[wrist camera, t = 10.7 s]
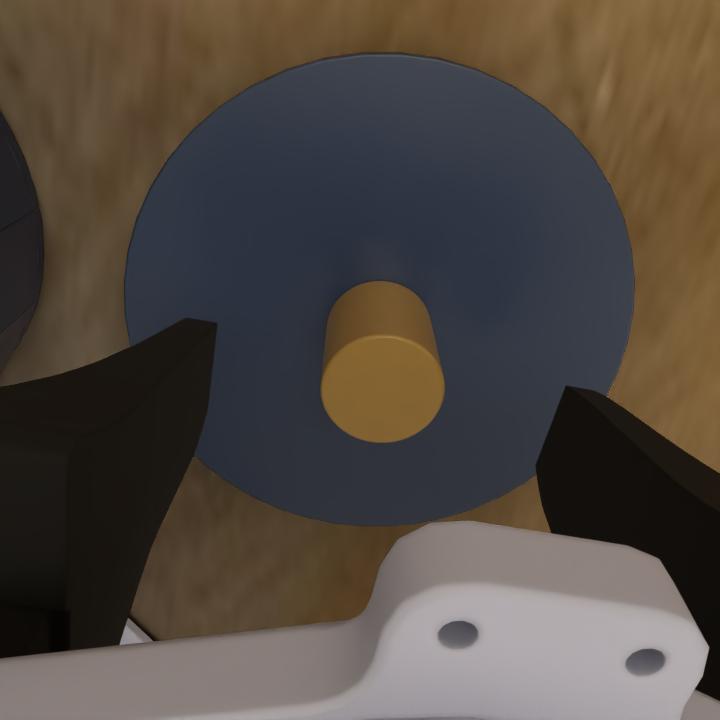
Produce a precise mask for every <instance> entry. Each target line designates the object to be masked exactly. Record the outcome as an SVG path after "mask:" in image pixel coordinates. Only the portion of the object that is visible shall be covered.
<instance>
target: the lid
mask: <svg viewBox="0 0 720 720" xmlns="http://www.w3.org/2000/svg"><path fill="white" fill-rule="evenodd" d="M634 288H635V278H634V267H633V257H632V248H631V244H630V240H629V236H628V232H627V228H626V224H625V220H624V217H623V214H622V212H621V210H620V207H619V205H618V202H617V200H616V197H615V195H614V193H613V190H612V188H611V186H610V184H609V183H608V181H607V179H606V178H605V176H604V174H603V173H602V171H601V169H600V168H599V166H598V164H597V163H596V161H595V159H594V158H593V156H592V155H591V154H590V153H589V152H588V150H587V149H586V148H585V147H584V146H583V144H582V143H581V142H580V141H579V140H578V138H577V137H576V136H575V135H574V134H573V132H572V131H571V130H570V129H569V128H568V127H567V126H565V125H564V124H563V123H562V122H561V121H560V120H559V119H558V118H557V117H555V116H554V115H553V114H552V113H551V112H550V111H549V110H548V109H546V108H545V107H544V106H543V105H541V104H540V103H538V102H537V101H535V100H534V99H532V98H531V97H529V96H528V95H526V94H524V93H523V92H521V91H520V90H518V89H517V88H515V87H514V86H512V85H510V84H508V83H506V82H504V81H501V80H499V79H497V78H495V77H493V76H491V75H488V74H486V73H484V72H482V71H480V70H478V69H475V68H472V67H469V66H465V65H462V64H459V63H455V62H452V61H448V60H445V59H442V58H438V57H431V56H424V55H417V54H410V53H403V52H361V53H354V54H347V55H340V56H333V57H327V58H322V59H319V60H315V61H312V62H309V63H305V64H302V65H298V66H295V67H292V68H288V69H286V70H284V71H282V72H279V73H277V74H275V75H273V76H271V77H268V78H266V79H264V80H262V81H260V82H258V83H255V84H253V85H252V86H250V87H249V88H247V89H246V90H244V91H243V92H241V93H239V94H238V95H236V96H235V97H233V98H232V99H230V100H229V101H227V102H226V103H224V104H222V105H221V106H219V107H218V108H217V109H216V110H215V111H214V112H213V113H211V114H210V115H209V116H208V117H207V118H206V119H205V120H203V121H202V122H201V123H200V124H199V125H198V126H197V127H195V128H194V129H193V130H192V131H191V132H190V133H189V135H188V136H187V137H186V138H185V139H184V140H183V142H182V143H181V144H180V145H179V146H178V147H177V149H176V150H175V151H174V152H173V153H172V154H171V156H170V157H169V158H168V160H167V161H166V163H165V164H164V166H163V168H162V169H161V171H160V172H159V174H158V176H157V177H156V179H155V180H154V182H153V184H152V185H151V187H150V189H149V191H148V193H147V196H146V198H145V200H144V203H143V205H142V207H141V209H140V212H139V214H138V216H137V219H136V222H135V226H134V230H133V233H132V237H131V241H130V244H129V248H128V254H127V262H126V270H125V279H124V299H125V317H126V323H127V329H128V335H129V341H130V345H131V346H134V345H136V344H138V343H139V342H141V341H143V340H145V339H147V338H149V337H151V336H153V335H155V334H157V333H158V332H160V331H162V330H164V329H166V328H167V327H169V326H171V325H173V324H175V323H177V322H178V321H180V320H182V319H185V318H193V319H198V320H204V321H209V322H215V323H218V326H217V334H216V343H215V352H214V361H213V369H212V378H211V387H210V396H209V404H208V412H207V415H206V418H205V422H204V425H203V429H202V432H201V435H200V438H199V442H198V445H197V448H196V451H195V453H194V455H195V456H196V457H197V458H198V459H200V460H201V461H202V462H203V463H204V464H205V465H206V466H207V467H208V468H210V469H211V470H212V471H214V472H215V473H216V474H218V475H219V476H220V477H222V478H223V479H224V480H226V481H227V482H228V483H230V484H232V485H233V486H235V487H237V488H238V489H240V490H242V491H244V492H245V493H247V494H249V495H250V496H252V497H254V498H256V499H258V500H261V501H263V502H265V503H267V504H270V505H272V506H274V507H276V508H279V509H281V510H284V511H288V512H291V513H294V514H297V515H300V516H303V517H306V518H311V519H316V520H320V521H325V522H330V523H335V524H345V525H355V526H398V525H407V524H417V523H423V522H427V521H432V520H437V519H442V518H447V517H450V516H453V515H456V514H459V513H462V512H465V511H468V510H471V509H474V508H477V507H479V506H481V505H483V504H486V503H488V502H490V501H492V500H495V499H497V498H499V497H501V496H503V495H505V494H506V493H508V492H510V491H512V490H513V489H515V488H517V487H518V486H520V485H522V484H524V483H525V482H527V481H528V480H529V479H531V478H532V477H533V476H535V475H536V467H535V465H536V462H537V460H538V457H539V454H540V452H541V449H542V447H543V444H544V441H545V439H546V436H547V433H548V431H549V428H550V426H551V423H552V420H553V418H554V415H555V412H556V410H557V407H558V404H559V402H560V399H561V397H562V394H563V391H564V389H565V386H566V385H567V386H573V387H578V388H584V389H589V390H594V391H597V392H599V393H601V394H602V395H604V396H606V395H607V393H608V391H609V389H610V387H611V385H612V383H613V381H614V379H615V377H616V375H617V373H618V370H619V367H620V364H621V361H622V358H623V355H624V352H625V349H626V346H627V343H628V338H629V333H630V327H631V322H632V317H633V309H634Z"/></svg>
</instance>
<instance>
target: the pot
mask: <svg viewBox="0 0 720 720" xmlns="http://www.w3.org/2000/svg"><path fill="white" fill-rule="evenodd" d="M43 256H44V247H43V234H42V221H41V217H40V212H39V207H38V202H37V198H36V193H35V189H34V186H33V183H32V180H31V177H30V174H29V171H28V168H27V166H26V163H25V160H24V157H23V155H22V153H21V151H20V149H19V147H18V144H17V142H16V140H15V138H14V136H13V134H12V132H11V130H10V128H9V125H8V124H7V122H6V120H5V119H4V117H3V116H2V114H1V112H0V371H1V370H2V369H3V368H4V367H5V365H6V363H7V361H8V359H9V357H10V355H11V353H12V352H13V351H14V350H15V348H16V347H17V345H18V343H19V342H20V340H21V338H22V337H23V335H24V333H25V332H26V330H27V328H28V325H29V323H30V320H31V318H32V315H33V313H34V310H35V308H36V305H37V300H38V296H39V291H40V287H41V282H42V272H43Z"/></svg>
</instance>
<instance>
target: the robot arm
mask: <svg viewBox="0 0 720 720" xmlns="http://www.w3.org/2000/svg"><path fill="white" fill-rule="evenodd" d="M217 326H218V323H215V322H209V321H204V320H198V319H193V318H185V319H182V320H180V321H178V322H177V323H175V324H173V325H171V326H169V327H167V328H166V329H164V330H162V331H160V332H158V333H157V334H155V335H153V336H151V337H149V338H147V339H145V340H143V341H141V342H139V343H138V344H136V345H134V346H131V347H129V348H127V349H125V350H122V351H120V352H118V353H116V354H113V355H111V356H109V357H107V358H105V359H102V360H100V361H97V362H95V363H92V364H89V365H87V366H84V367H81V368H78V369H74V370H71V371H68V372H65V373H62V374H58V375H54V376H51V377H46V378H41V379H37V380H32V381H28V382H23V383H19V384H14V385H9V386H2V387H0V720H720V473H718V472H716V471H715V470H713V469H711V468H710V467H708V466H707V465H705V464H704V463H702V462H700V461H699V460H697V459H696V458H694V457H693V456H691V455H690V454H688V453H687V452H685V451H684V450H682V449H681V448H679V447H678V446H676V445H675V444H673V443H672V442H670V441H669V440H668V439H666V438H665V437H663V436H662V435H660V434H659V433H658V432H656V431H655V430H653V429H652V428H651V427H649V426H648V425H646V424H645V423H644V422H642V421H641V420H640V419H638V418H637V417H635V416H634V415H633V414H631V413H630V412H628V411H627V410H626V409H624V408H623V407H621V406H620V405H618V404H617V403H615V402H614V401H612V400H611V399H609V398H607V397H606V396H604V395H602V394H601V393H599V392H597V391H594V390H589V389H584V388H578V387H573V386H567V385H566V386H565V389H564V391H563V394H562V397H561V399H560V402H559V404H558V407H557V410H556V412H555V415H554V418H553V420H552V423H551V426H550V428H549V431H548V433H547V436H546V439H545V441H544V444H543V447H542V449H541V452H540V454H539V457H538V460H537V462H536V465H535V467H536V474H537V480H538V486H539V492H540V497H541V502H542V506H543V509H544V513H545V516H546V519H547V521H548V524H549V527H550V530H551V533H546V532H540V531H534V530H527V529H521V528H515V527H508V526H502V525H496V524H490V523H483V522H477V521H471V520H468V521H448V522H431V523H429V524H427V525H425V526H423V527H421V528H419V529H417V530H415V531H413V532H411V533H409V534H407V535H405V536H403V537H401V538H399V539H397V541H396V542H395V544H394V545H393V547H392V548H391V550H390V551H389V553H388V554H387V556H386V557H385V559H384V560H383V562H382V563H381V565H380V567H379V571H378V575H377V578H376V582H375V585H374V589H373V593H372V596H371V598H370V600H369V602H368V605H367V607H366V609H365V610H364V611H363V612H362V613H361V614H360V615H358V616H356V617H354V618H352V619H349V620H342V621H333V622H324V623H315V624H306V625H297V626H288V627H279V628H270V629H261V630H252V631H243V632H234V633H225V634H216V635H207V636H198V637H189V638H180V639H171V640H162V641H153V640H152V639H150V638H149V637H148V636H147V635H146V634H145V633H144V632H143V631H142V630H141V629H140V628H139V627H138V626H137V625H136V624H135V623H134V622H132V621H131V620H130V619H129V618H128V616H129V613H130V610H131V607H132V604H133V601H134V597H135V594H136V591H137V588H138V585H139V582H140V579H141V576H142V573H143V570H144V567H145V564H146V561H147V558H148V555H149V552H150V549H151V547H152V544H153V542H154V539H155V537H156V535H157V532H158V530H159V528H160V526H161V523H162V521H163V519H164V517H165V515H166V513H167V511H168V509H169V506H170V504H171V502H172V500H173V498H174V496H175V494H176V492H177V489H178V487H179V485H180V483H181V481H182V479H183V477H184V475H185V472H186V470H187V468H188V466H189V464H190V462H191V459H192V457H193V455H194V453H195V451H196V448H197V445H198V442H199V438H200V435H201V432H202V429H203V425H204V422H205V418H206V415H207V412H208V404H209V396H210V387H211V378H212V369H213V361H214V352H215V343H216V334H217Z"/></svg>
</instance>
